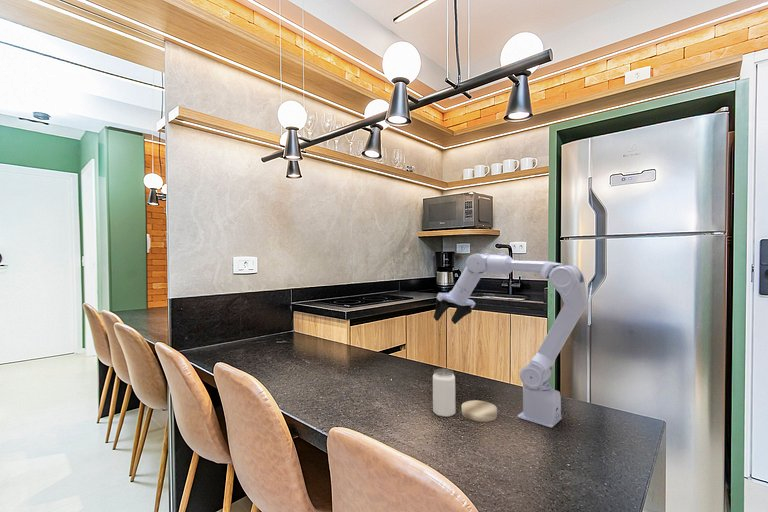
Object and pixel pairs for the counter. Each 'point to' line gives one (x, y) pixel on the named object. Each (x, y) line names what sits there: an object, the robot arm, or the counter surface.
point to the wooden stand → (479, 411)
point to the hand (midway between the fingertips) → (444, 320)
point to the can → (444, 392)
